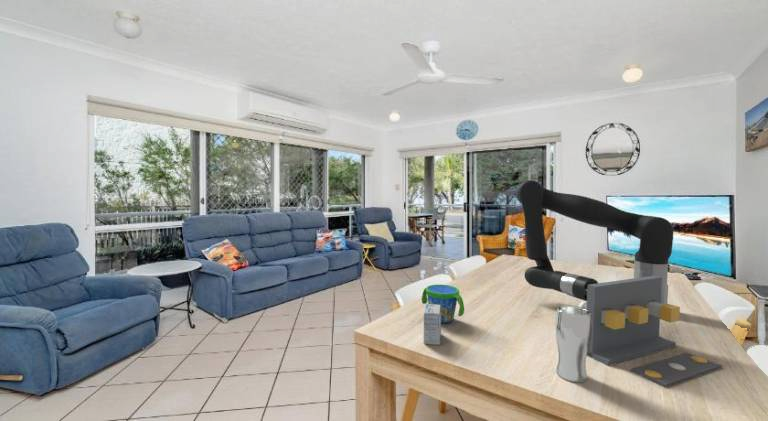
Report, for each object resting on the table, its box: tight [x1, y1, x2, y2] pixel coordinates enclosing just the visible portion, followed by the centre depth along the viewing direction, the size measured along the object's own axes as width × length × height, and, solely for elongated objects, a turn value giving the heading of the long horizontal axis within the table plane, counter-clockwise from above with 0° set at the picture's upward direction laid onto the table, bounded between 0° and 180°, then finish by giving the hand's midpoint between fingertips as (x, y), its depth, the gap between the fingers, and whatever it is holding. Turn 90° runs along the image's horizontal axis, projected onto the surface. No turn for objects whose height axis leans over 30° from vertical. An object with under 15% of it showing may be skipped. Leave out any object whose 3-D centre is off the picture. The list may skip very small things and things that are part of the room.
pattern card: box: [630, 351, 723, 388], centre depth 78 cm, size 22×7×1 cm, turn 112°
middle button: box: [624, 305, 648, 324], centre depth 89 cm, size 4×10×4 cm, turn 22°
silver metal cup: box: [555, 304, 592, 384], centre depth 75 cm, size 7×7×15 cm
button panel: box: [586, 276, 677, 367], centre depth 89 cm, size 27×10×18 cm, turn 112°
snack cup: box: [421, 284, 465, 324], centre depth 107 cm, size 16×10×10 cm
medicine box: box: [423, 303, 442, 346], centre depth 93 cm, size 8×4×9 cm, turn 168°
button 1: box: [577, 300, 625, 330], centre depth 86 cm, size 4×10×4 cm, turn 22°
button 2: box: [646, 301, 681, 323], centre depth 90 cm, size 4×10×4 cm, turn 22°
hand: (634, 303), depth 95 cm, fingers closed
